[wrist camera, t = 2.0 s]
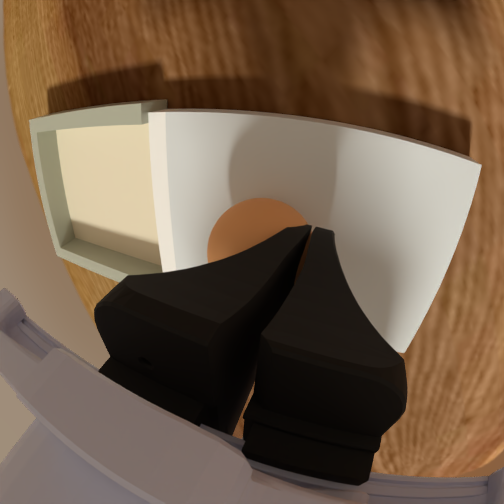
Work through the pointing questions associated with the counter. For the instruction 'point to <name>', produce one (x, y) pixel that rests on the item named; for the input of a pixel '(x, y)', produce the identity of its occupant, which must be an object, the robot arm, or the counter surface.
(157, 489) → the robot arm
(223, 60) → the counter surface
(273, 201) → the ball
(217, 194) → the plate
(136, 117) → the tray
